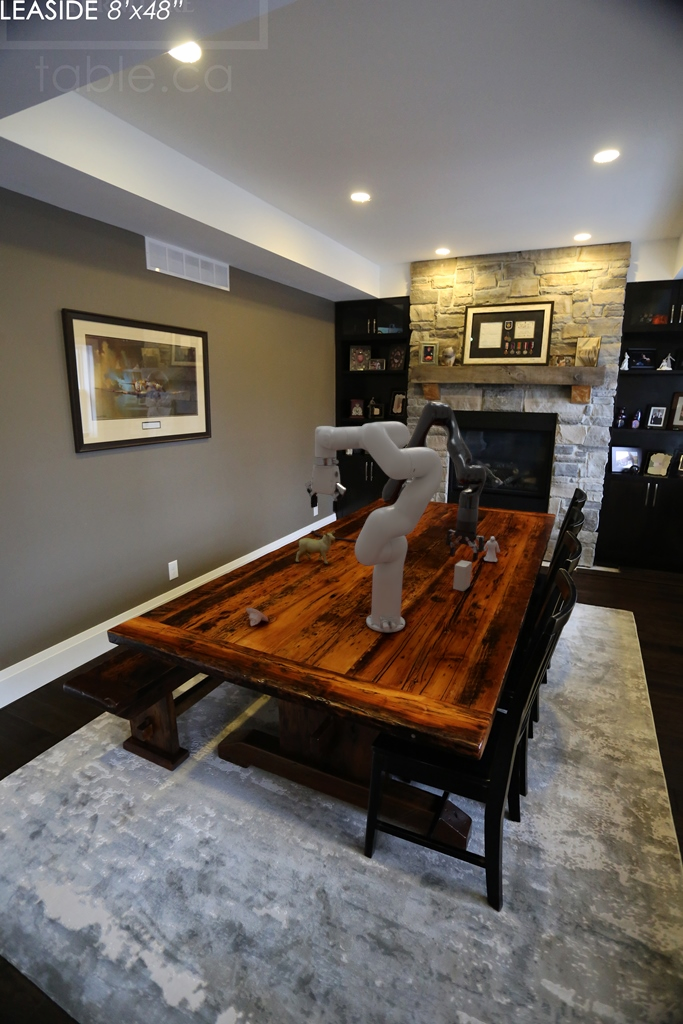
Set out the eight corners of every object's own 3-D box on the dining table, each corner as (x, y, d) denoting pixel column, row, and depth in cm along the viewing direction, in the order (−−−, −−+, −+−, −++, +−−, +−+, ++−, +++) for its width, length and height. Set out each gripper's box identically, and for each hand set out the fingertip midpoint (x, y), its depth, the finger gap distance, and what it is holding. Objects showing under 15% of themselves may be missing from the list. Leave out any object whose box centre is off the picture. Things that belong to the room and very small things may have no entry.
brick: (470, 585, 196) (472, 562, 193) (463, 591, 190) (465, 567, 188) (459, 583, 198) (461, 560, 196) (452, 588, 192) (454, 564, 190)
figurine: (481, 562, 222) (483, 536, 219) (482, 556, 230) (484, 531, 227) (499, 564, 220) (501, 538, 217) (499, 558, 228) (501, 533, 225)
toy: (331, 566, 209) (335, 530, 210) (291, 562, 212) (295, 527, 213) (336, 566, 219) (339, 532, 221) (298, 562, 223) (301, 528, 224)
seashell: (251, 634, 162) (235, 615, 161) (262, 623, 165) (246, 604, 164) (262, 630, 156) (245, 610, 155) (273, 618, 159) (257, 599, 158)
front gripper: (351, 463, 174) (350, 510, 178) (312, 458, 183) (312, 503, 187) (339, 465, 168) (338, 515, 172) (299, 460, 177) (299, 507, 181)
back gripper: (489, 519, 186) (484, 560, 190) (453, 513, 194) (449, 552, 198) (482, 523, 180) (477, 566, 184) (445, 516, 188) (442, 557, 192)
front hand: (324, 509), depth 180 cm, fingers open, 9 cm apart
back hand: (463, 559), depth 191 cm, fingers open, 8 cm apart
